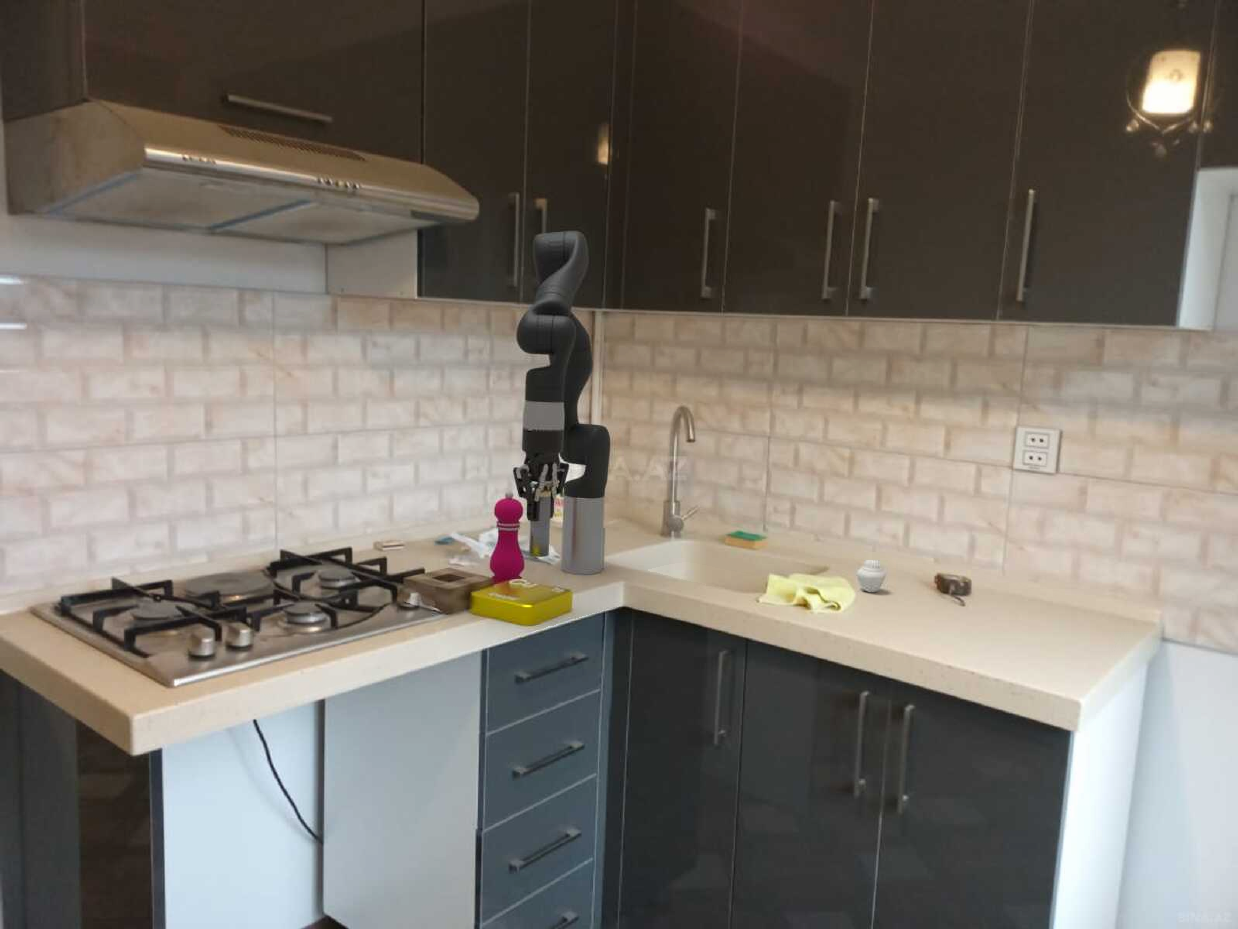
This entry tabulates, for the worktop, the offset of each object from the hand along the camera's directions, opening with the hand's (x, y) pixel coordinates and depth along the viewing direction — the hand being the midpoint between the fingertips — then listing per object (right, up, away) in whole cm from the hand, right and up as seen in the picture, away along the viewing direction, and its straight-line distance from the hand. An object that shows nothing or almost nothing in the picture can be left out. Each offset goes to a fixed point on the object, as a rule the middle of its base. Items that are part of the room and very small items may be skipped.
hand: (540, 519), depth 173 cm
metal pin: (0, -7, +1) cm, 7 cm away
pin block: (-18, -17, +8) cm, 26 cm away
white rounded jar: (+69, -18, +33) cm, 79 cm away
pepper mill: (-9, -15, +24) cm, 30 cm away
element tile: (-4, -18, +5) cm, 20 cm away
